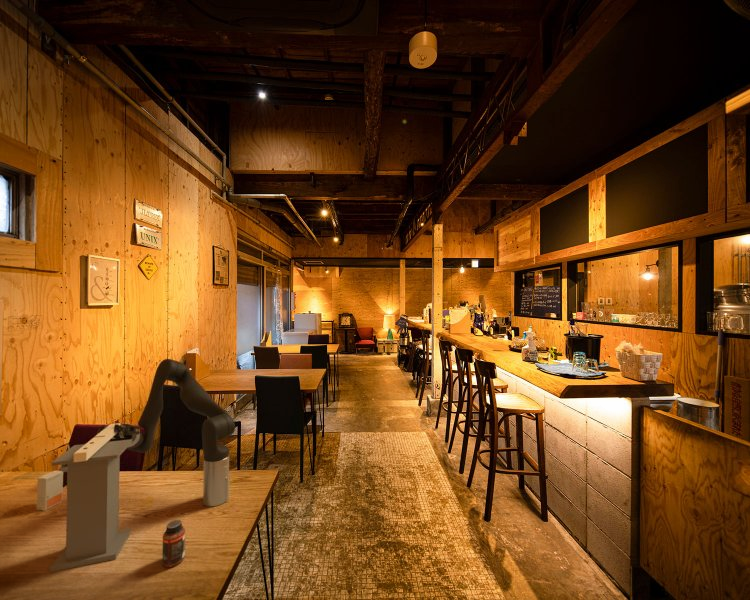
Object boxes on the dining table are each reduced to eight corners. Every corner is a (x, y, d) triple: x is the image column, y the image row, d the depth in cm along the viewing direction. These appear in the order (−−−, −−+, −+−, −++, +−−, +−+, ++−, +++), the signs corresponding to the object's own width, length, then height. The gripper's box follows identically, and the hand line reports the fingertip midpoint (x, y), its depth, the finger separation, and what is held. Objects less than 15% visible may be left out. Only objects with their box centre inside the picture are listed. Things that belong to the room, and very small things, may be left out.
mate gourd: (69, 488, 139) (69, 452, 139) (50, 487, 139) (51, 452, 139) (85, 478, 146) (85, 444, 146) (67, 478, 146) (68, 444, 146)
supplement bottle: (189, 556, 103) (190, 519, 103) (172, 570, 97) (172, 532, 97) (175, 551, 105) (175, 515, 105) (157, 565, 99) (158, 527, 99)
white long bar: (120, 430, 119) (120, 422, 119) (86, 460, 96) (86, 451, 96) (110, 431, 118) (110, 423, 118) (73, 462, 95) (73, 453, 95)
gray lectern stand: (130, 533, 113) (132, 439, 113) (115, 559, 101) (117, 454, 101) (72, 543, 107) (74, 445, 108) (49, 572, 96) (51, 462, 96)
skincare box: (44, 511, 124) (45, 479, 124) (36, 509, 124) (36, 477, 124) (63, 501, 130) (63, 471, 130) (54, 500, 130) (55, 469, 130)
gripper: (106, 427, 128) (87, 418, 113) (148, 424, 132) (135, 414, 118) (101, 448, 124) (81, 442, 110) (145, 444, 128) (131, 437, 114)
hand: (109, 428), depth 114 cm, fingers closed on white long bar, 3 cm apart
